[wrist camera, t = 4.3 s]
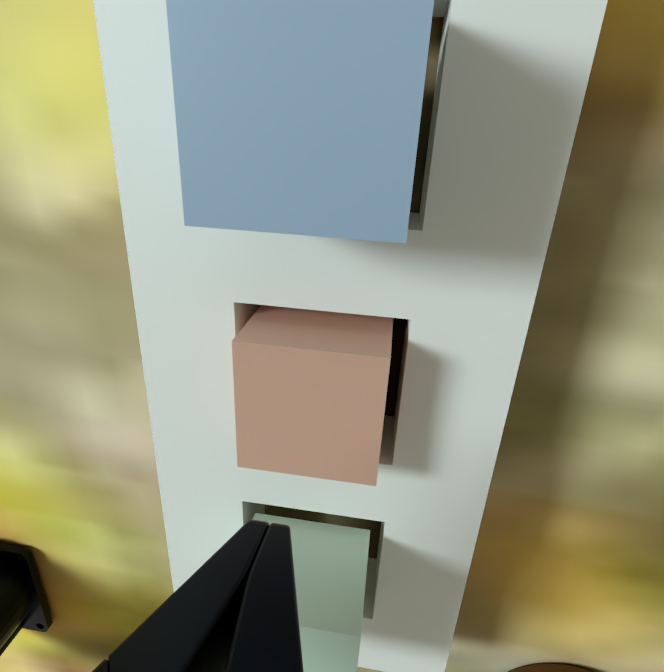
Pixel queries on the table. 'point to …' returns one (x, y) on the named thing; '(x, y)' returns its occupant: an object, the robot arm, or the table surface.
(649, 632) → the table surface
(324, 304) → the panel
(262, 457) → the button terracotta
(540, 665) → the mug
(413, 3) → the button slate
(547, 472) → the table surface
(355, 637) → the button sage
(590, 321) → the table surface
